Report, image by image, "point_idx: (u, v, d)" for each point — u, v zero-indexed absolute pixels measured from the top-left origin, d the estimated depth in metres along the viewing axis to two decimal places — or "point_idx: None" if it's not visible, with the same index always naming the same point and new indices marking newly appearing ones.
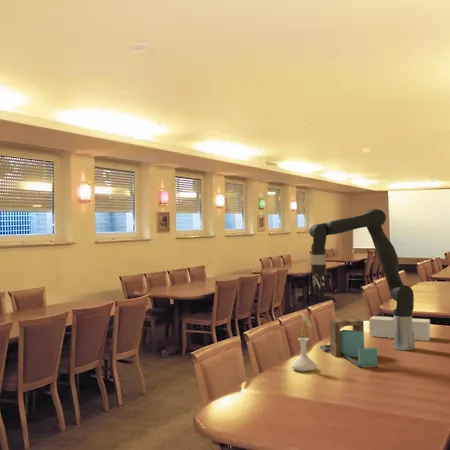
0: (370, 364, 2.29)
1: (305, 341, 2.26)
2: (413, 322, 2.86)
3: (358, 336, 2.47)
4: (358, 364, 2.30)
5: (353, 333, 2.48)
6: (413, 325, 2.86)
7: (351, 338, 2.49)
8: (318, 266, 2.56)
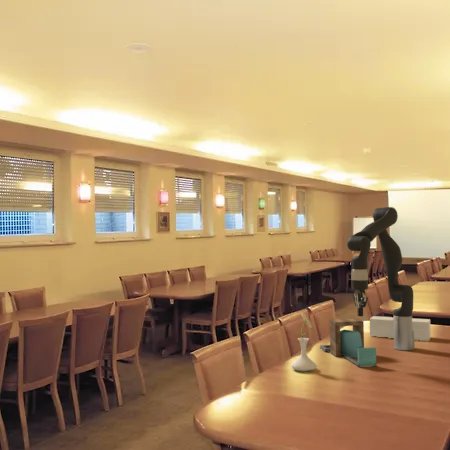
0: (369, 363, 2.30)
1: (305, 341, 2.26)
2: (413, 322, 2.86)
3: (352, 337, 2.47)
4: (357, 363, 2.31)
5: (348, 334, 2.49)
6: (413, 325, 2.86)
7: (347, 339, 2.50)
8: (360, 281, 2.34)
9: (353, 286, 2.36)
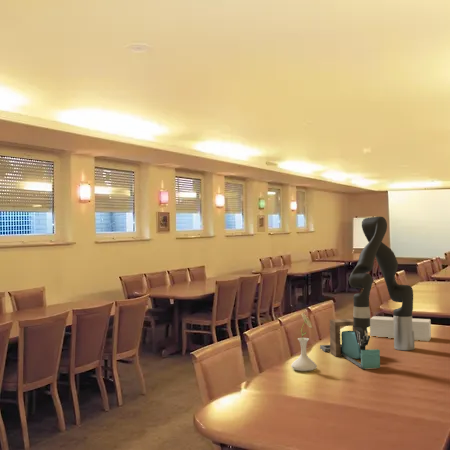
0: (373, 366, 2.26)
1: (305, 341, 2.26)
2: (414, 322, 2.86)
3: None
4: (361, 366, 2.27)
5: (352, 334, 2.46)
6: (414, 325, 2.86)
7: (351, 339, 2.47)
8: (362, 319, 2.32)
9: (355, 324, 2.34)
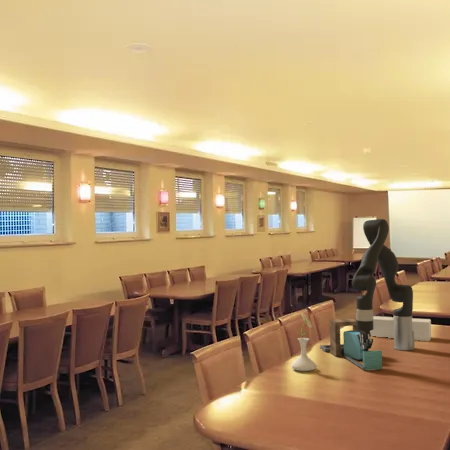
0: (375, 367, 2.24)
1: (305, 341, 2.26)
2: (414, 322, 2.86)
3: None
4: (363, 367, 2.25)
5: (354, 335, 2.43)
6: (414, 325, 2.86)
7: (353, 339, 2.44)
8: (365, 322, 2.28)
9: (358, 327, 2.30)
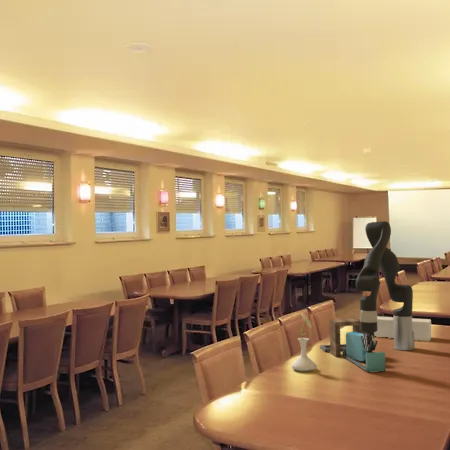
0: (378, 369, 2.21)
1: (305, 341, 2.26)
2: (414, 322, 2.86)
3: (360, 340, 2.38)
4: (365, 369, 2.22)
5: (357, 336, 2.40)
6: (414, 325, 2.86)
7: (355, 341, 2.41)
8: (369, 324, 2.24)
9: (362, 328, 2.26)
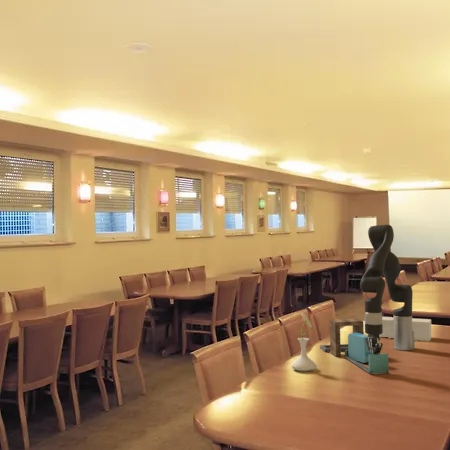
0: (381, 371, 2.18)
1: (305, 341, 2.26)
2: (414, 322, 2.86)
3: (363, 341, 2.35)
4: (368, 370, 2.19)
5: (359, 337, 2.37)
6: (414, 325, 2.86)
7: (358, 342, 2.38)
8: (374, 326, 2.19)
9: (367, 330, 2.21)
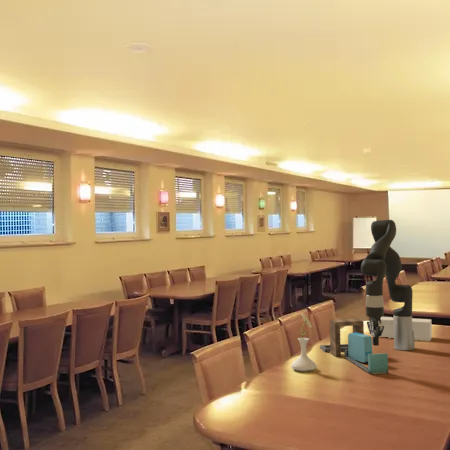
0: (381, 370, 2.18)
1: (305, 341, 2.26)
2: (415, 322, 2.86)
3: (363, 341, 2.35)
4: (368, 370, 2.19)
5: (359, 337, 2.37)
6: (415, 325, 2.86)
7: (358, 342, 2.38)
8: (375, 309, 2.18)
9: (368, 313, 2.20)
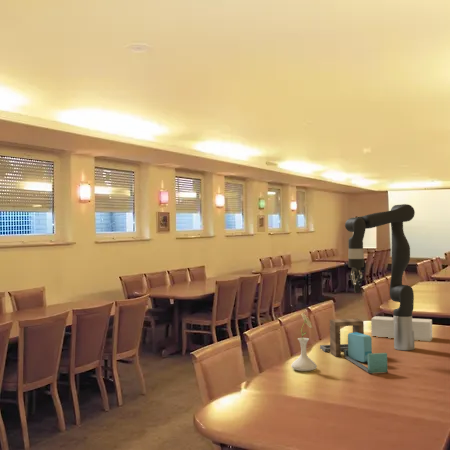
0: (380, 370, 2.19)
1: (305, 341, 2.26)
2: (415, 322, 2.86)
3: (362, 340, 2.36)
4: (367, 370, 2.20)
5: (359, 337, 2.38)
6: (415, 325, 2.86)
7: (357, 341, 2.39)
8: (356, 260, 2.51)
9: (350, 264, 2.53)
